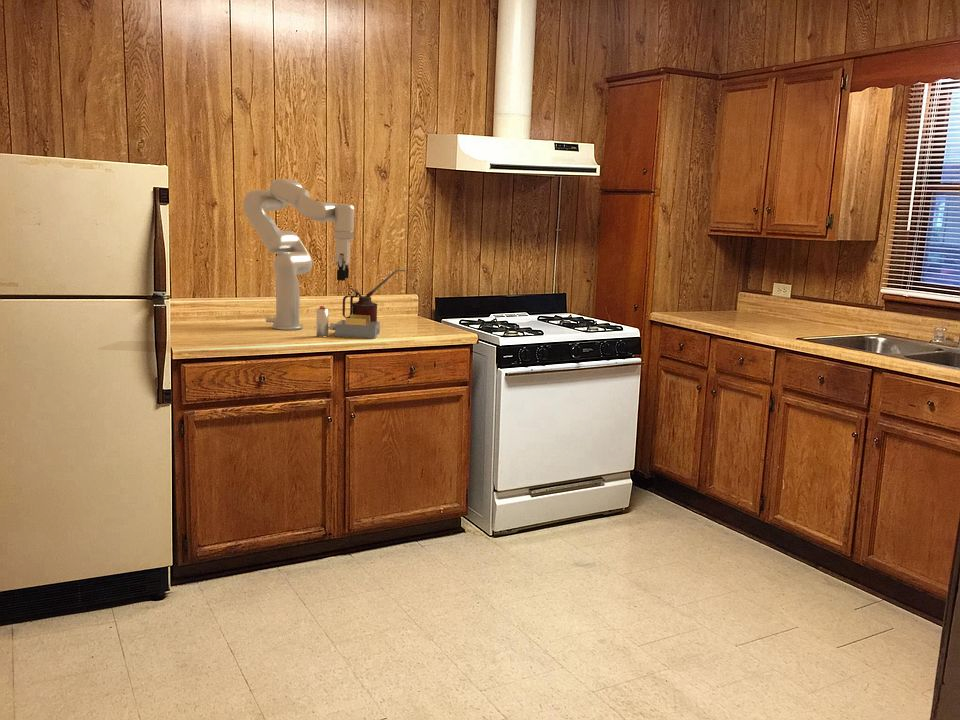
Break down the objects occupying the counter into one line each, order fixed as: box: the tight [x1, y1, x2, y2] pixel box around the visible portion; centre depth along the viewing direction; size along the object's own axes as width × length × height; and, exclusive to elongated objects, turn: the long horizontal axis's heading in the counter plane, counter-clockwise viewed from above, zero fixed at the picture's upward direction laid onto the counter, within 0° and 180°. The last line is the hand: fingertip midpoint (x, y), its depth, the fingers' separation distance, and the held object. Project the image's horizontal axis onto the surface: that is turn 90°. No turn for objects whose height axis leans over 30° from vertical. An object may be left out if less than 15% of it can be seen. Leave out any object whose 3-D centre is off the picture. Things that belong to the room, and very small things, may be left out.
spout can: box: [316, 305, 329, 337], centre depth 333 cm, size 5×5×12 cm
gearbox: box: [329, 314, 381, 339], centre depth 340 cm, size 19×13×8 cm
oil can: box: [342, 269, 406, 322], centre depth 364 cm, size 28×11×25 cm, turn 117°
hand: (342, 279), depth 335 cm, fingers open, 9 cm apart
